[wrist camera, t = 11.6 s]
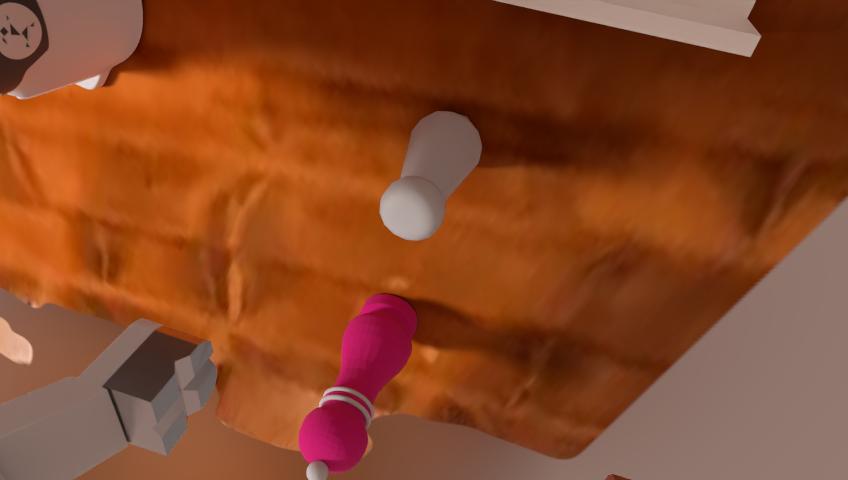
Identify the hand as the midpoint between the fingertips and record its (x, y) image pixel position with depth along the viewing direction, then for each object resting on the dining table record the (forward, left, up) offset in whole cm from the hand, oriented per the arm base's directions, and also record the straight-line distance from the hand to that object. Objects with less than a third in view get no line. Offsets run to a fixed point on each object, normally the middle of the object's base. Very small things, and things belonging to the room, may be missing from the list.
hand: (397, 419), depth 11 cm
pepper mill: (-8, -34, -34) cm, 49 cm away
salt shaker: (-5, -11, -34) cm, 36 cm away
